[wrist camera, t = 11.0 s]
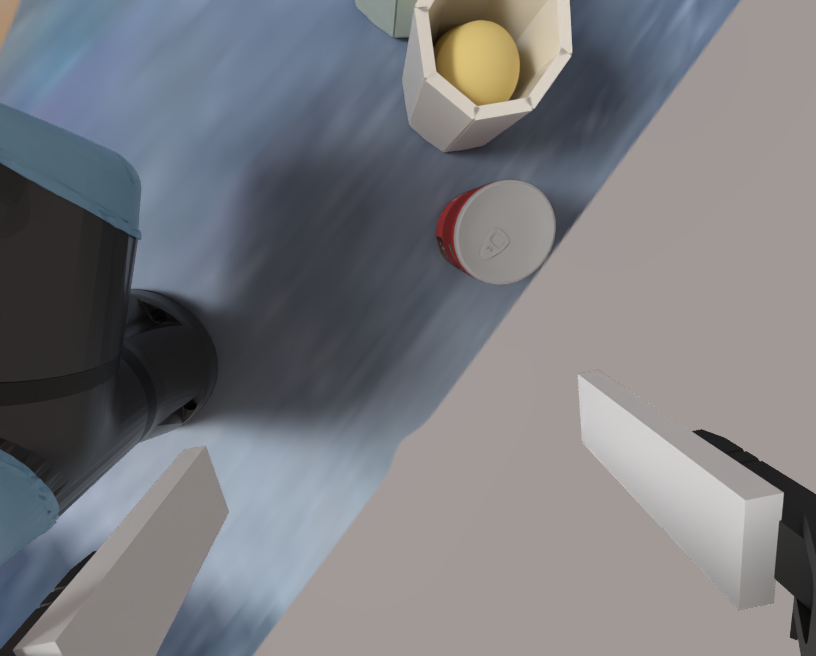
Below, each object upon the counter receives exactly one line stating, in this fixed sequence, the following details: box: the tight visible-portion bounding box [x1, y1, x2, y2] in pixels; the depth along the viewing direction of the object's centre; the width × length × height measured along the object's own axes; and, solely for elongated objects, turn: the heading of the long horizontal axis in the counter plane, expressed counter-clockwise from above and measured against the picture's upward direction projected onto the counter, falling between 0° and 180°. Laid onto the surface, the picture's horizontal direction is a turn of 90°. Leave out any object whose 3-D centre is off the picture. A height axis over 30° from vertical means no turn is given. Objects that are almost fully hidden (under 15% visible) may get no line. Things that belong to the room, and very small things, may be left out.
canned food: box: [436, 180, 556, 285], centre depth 35 cm, size 8×8×11 cm
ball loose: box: [436, 20, 520, 106], centre depth 29 cm, size 6×6×6 cm
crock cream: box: [402, 0, 572, 153], centre depth 31 cm, size 10×10×13 cm
